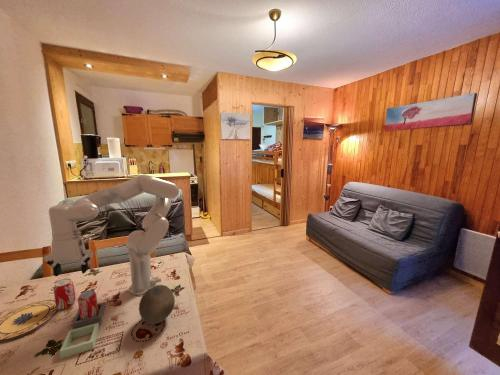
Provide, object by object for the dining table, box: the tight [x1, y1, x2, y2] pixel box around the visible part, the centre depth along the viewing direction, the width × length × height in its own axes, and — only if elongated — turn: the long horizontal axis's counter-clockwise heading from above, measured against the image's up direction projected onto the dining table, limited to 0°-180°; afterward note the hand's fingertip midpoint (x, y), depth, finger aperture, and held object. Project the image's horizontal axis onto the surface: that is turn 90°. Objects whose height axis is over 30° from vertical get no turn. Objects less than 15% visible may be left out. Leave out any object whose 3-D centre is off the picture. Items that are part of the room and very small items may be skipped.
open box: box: [59, 302, 106, 360], centre depth 86 cm, size 10×22×3 cm, turn 25°
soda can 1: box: [53, 278, 77, 310], centre depth 98 cm, size 7×7×12 cm
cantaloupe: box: [138, 284, 176, 325], centre depth 90 cm, size 14×14×15 cm
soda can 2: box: [77, 289, 99, 320], centre depth 91 cm, size 6×6×12 cm
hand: (72, 273), depth 89 cm, fingers open, 9 cm apart
